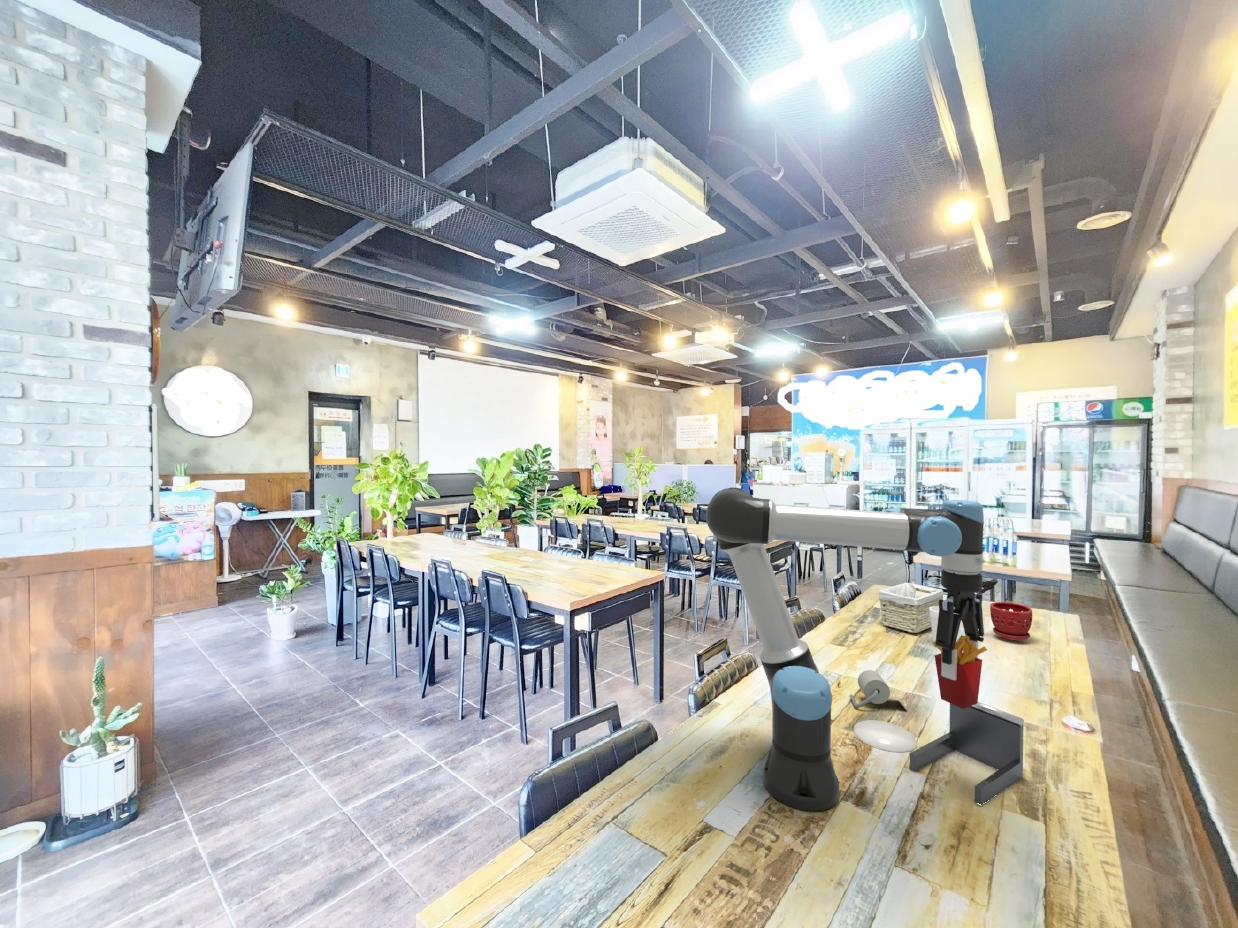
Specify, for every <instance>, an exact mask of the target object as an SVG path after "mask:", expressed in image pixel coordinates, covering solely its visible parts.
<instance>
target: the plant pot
mask: <svg viewBox="0 0 1238 928" xmlns="http://www.w3.org/2000/svg"><path fill="white" fill-rule="evenodd" d="M989 609H990V611H989V612H990V618H991V622H992V624H993V626H994V627H992V631H993V633H994V634H995V635H997V636H998V637H1000V638H1004V639H1007V640H1011V641H1013V640H1014V641H1022V642H1023V641H1025V640H1028V639H1030V637H1031V633H1030V632H1029V631H1030V630H1031V627H1032V622H1033V609H1032V608H1031V607H1029V606H1027V605H1023V604H1019V603H1013V602H1005V601H999V602H998V601H996V602H992V603H990V604H989Z"/></svg>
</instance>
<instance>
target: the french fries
mask: <svg viewBox="0 0 1238 928" xmlns="http://www.w3.org/2000/svg"><path fill="white" fill-rule="evenodd" d="M969 638H970V637H968V636H967V635H965V634H964V635H963V634H961V635H960V636H959V637H958V638H957V640H956V644H955V648H954V649H956V650H957V679H956V680H955V681H954V680H951V679H949V678H946V677H943V676H941V665H942V647H940V646H937V645H936V644H935V642H936V641H933V642H932V644H933V645H934V646H935V647H936V648H937V649H938V650H939V651H940V653H938V654H934V661H935V667H936V675H937V680H938V682H937V683H938V688H939V693H940V699H941V700H942V701H945V702H947V703H949V704H950V703H951V704H953V705H955V706H957V707H960V708H962V709H964V708H967V707H969V706H972V705H975V704H977V703H978V702H979V693H980V686H981V685H980V683H981V676H982V675H981V673H982V666H983V665H982V664H983V659H982V658H979V657H978V658H976V657H977V655H978V656H979V655H981V654H983V653H984V652H987V651H988V649H987V648H986V646H983V647H980V648H979V647H978V648H976V647H975V648H974V644H973V642H969ZM963 648H964V653H963Z"/></svg>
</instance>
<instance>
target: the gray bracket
mask: <svg viewBox="0 0 1238 928" xmlns="http://www.w3.org/2000/svg"><path fill="white" fill-rule="evenodd" d="M1024 722H1025V721H1024V718H1023V717H1019V716H1017V715H1014V714H1011V713H1008V712H1006V711H1005V710H1001V709H997V708H995V707H993V706H991V705H987V704H984V703H982V702H980V701H978V703H977V704H975V705H972V706H969V707H967V708H964V709H962V708H960V707H957V706H955V705H953V704H951V703H949V729H948V730H949V732H947V733H945V734H943V735H941V736H940V737H938V738H936V739H934V740H932V741H931V742H928V743H926V744H925V745H923V746H921V747H919V748H917V749H914V750H913V751H910V753H909V770H911V771H914V772H917V771H919V770H921V769H923V768H925V767H926V766H929V764H932V763H934V762H935V761H937V760H938V759H941V758H943V757H945V756H947V755H949V754H950V753H952V752H958V753H960V754H962V755H964V756H966V757H968V758H970V759H973V760H975V761H978V762H980V763H982V764H984V765H986V766H988V767H990V766H991V768H992V767H993V769H995V770H996V771H995V772H994V773H993V772H992V774H990V775H989V776H988V777H986V778H983V780H982V781H980V782H978V783H977V784H975V785H974V803H975V802H976V803H979V804H981V805H982V804H983V803H985V802H987V801H988V800H990V799H991V798H993V797H994V796H995V795H997V796H998V795H1000V794H1002V793H1003V792H1004V791H1005V789H1006V788H1007V789H1009V788H1010V787H1012V786H1013V785H1014V784H1016V783H1017V782H1019V781H1020V780H1022V779H1023V778H1024V777H1023V775H1024V772H1023V771H1024V730H1025V729H1024V727H1025V726H1024ZM997 769H998V770H997ZM1007 789H1006V790H1007ZM1002 791H1003V792H1002ZM999 793H1000V794H999ZM994 798H995V797H994ZM994 798H993V799H994ZM991 800H992V799H991ZM991 800H990V801H991ZM988 802H989V801H988ZM988 802H987V803H988ZM976 803H975V804H976ZM985 804H986V803H985ZM982 806H983V805H982Z"/></svg>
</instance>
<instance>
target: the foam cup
mask: <svg viewBox="0 0 1238 928" xmlns="http://www.w3.org/2000/svg"><path fill="white" fill-rule="evenodd" d="M954 614H955V613H954ZM929 615H930V620H931V627H930V628H931V634H932V641H933V642H934V641H936V633H937V625H938V616H939V606H934V607H930V608H929ZM958 615H959V614H958Z"/></svg>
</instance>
